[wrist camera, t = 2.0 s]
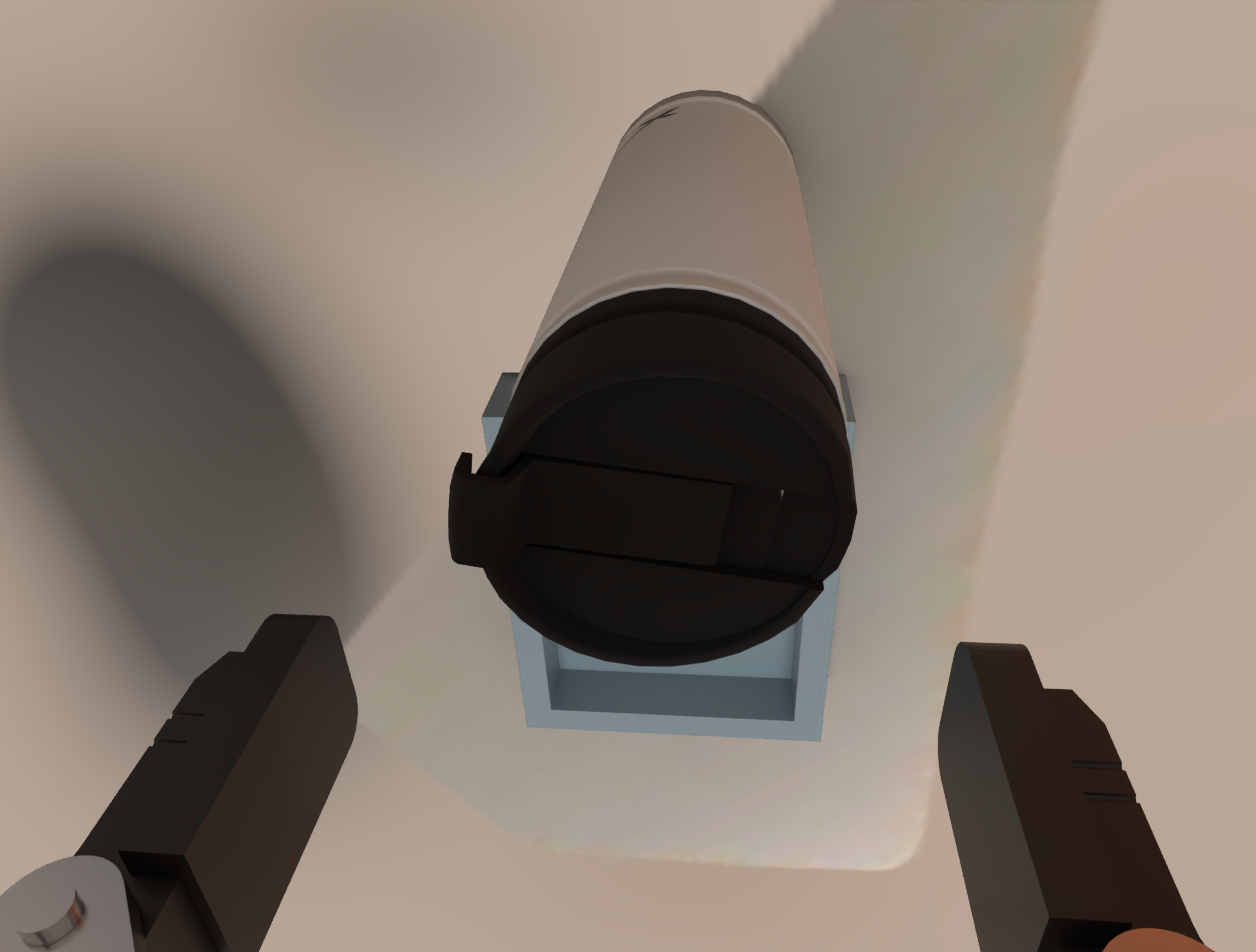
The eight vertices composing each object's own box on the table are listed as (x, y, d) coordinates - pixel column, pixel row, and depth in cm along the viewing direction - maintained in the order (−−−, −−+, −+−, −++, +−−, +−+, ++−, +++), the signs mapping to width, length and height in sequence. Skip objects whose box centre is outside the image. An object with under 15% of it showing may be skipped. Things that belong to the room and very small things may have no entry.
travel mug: (611, 72, 29) (445, 335, 12) (816, 105, 29) (926, 415, 12) (590, 260, 33) (437, 663, 16) (773, 289, 32) (813, 725, 16)
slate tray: (502, 372, 35) (481, 417, 32) (845, 375, 34) (855, 422, 31) (540, 670, 44) (527, 727, 41) (814, 682, 43) (820, 741, 40)
